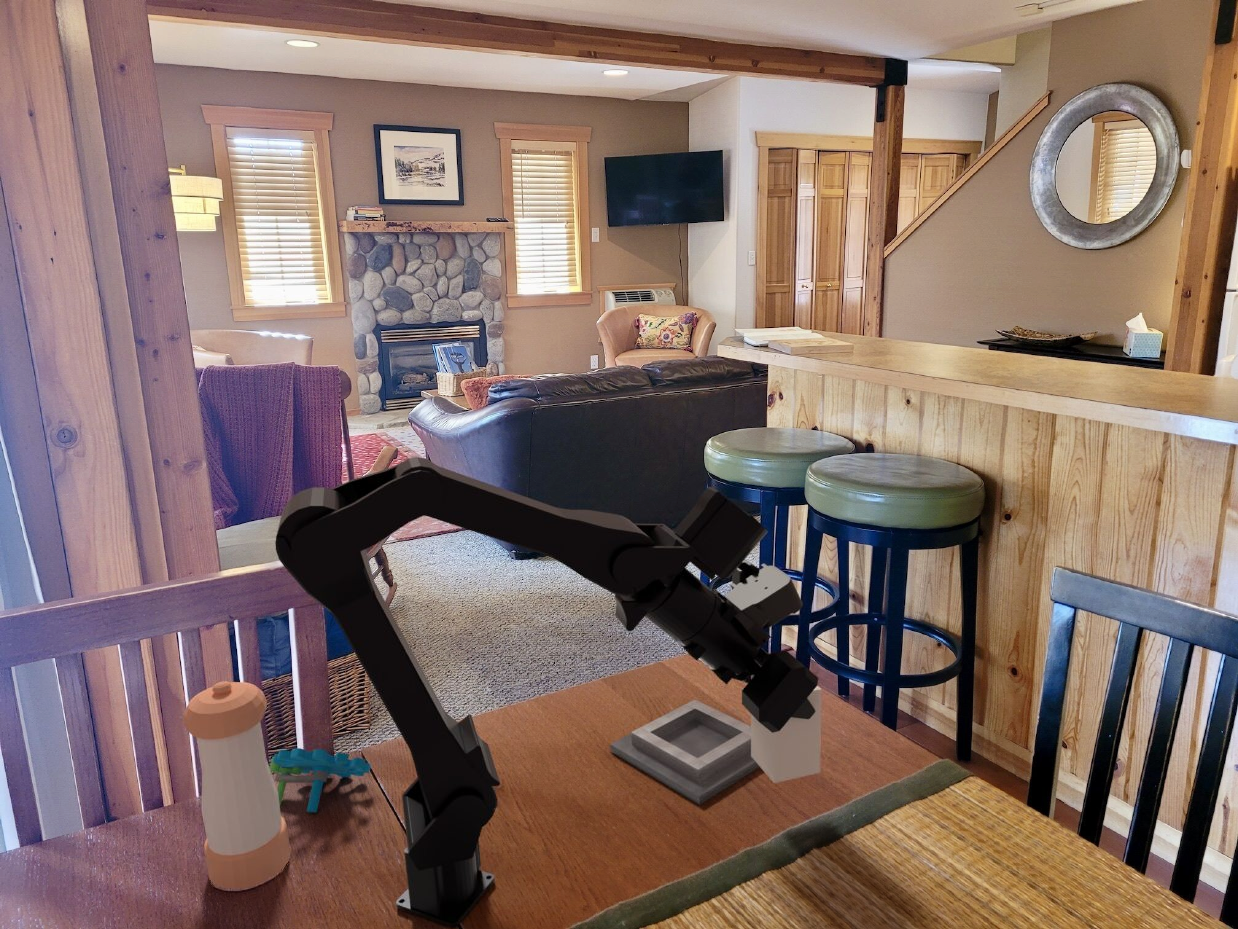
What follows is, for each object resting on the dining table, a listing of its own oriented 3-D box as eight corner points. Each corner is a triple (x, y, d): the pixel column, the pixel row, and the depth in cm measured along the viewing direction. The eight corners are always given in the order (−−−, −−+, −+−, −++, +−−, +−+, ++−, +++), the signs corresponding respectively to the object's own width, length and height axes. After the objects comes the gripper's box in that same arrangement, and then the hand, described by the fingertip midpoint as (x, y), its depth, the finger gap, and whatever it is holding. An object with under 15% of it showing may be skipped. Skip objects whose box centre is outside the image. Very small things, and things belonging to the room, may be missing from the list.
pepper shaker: (291, 878, 80) (264, 692, 76) (206, 902, 78) (172, 710, 73) (290, 833, 87) (264, 658, 83) (211, 853, 84) (180, 674, 80)
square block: (774, 783, 83) (774, 698, 81) (751, 756, 88) (751, 675, 85) (819, 772, 84) (821, 689, 82) (794, 746, 89) (795, 666, 87)
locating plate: (699, 805, 89) (698, 783, 88) (610, 751, 99) (609, 732, 98) (784, 751, 98) (784, 731, 97) (694, 707, 108) (694, 689, 107)
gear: (389, 764, 95) (338, 741, 87) (378, 820, 92) (324, 802, 84) (304, 765, 99) (248, 743, 91) (291, 820, 96) (232, 802, 87)
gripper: (798, 581, 71) (907, 680, 76) (708, 520, 88) (803, 605, 94) (711, 685, 70) (828, 777, 76) (638, 603, 88) (737, 683, 93)
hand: (798, 701), depth 85 cm, fingers closed on square block, 5 cm apart
